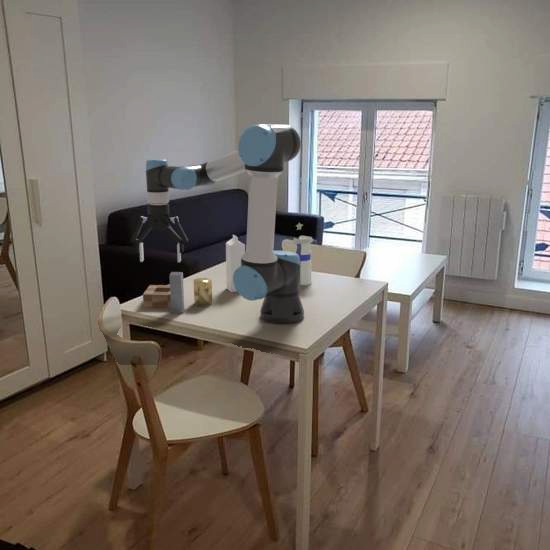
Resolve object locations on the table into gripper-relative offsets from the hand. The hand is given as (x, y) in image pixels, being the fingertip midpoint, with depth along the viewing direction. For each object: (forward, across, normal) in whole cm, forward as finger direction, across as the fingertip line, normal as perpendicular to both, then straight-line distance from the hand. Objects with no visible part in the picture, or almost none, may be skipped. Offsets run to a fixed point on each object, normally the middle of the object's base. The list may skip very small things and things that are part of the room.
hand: (160, 261), depth 206 cm
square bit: (+16, -7, +10) cm, 20 cm away
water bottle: (+16, -53, -27) cm, 62 cm away
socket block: (+16, 0, 0) cm, 16 cm away
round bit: (+16, -15, +1) cm, 22 cm away
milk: (+16, -26, -17) cm, 35 cm away
